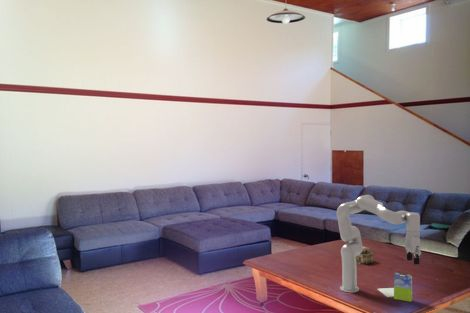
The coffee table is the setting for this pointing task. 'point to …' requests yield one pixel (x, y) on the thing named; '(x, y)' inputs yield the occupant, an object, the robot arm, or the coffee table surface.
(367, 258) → the miniature house
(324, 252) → the coffee table surface
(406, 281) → the box
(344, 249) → the robot arm
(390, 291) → the mat
